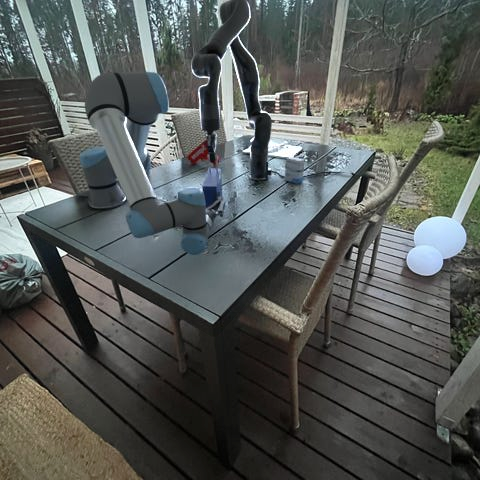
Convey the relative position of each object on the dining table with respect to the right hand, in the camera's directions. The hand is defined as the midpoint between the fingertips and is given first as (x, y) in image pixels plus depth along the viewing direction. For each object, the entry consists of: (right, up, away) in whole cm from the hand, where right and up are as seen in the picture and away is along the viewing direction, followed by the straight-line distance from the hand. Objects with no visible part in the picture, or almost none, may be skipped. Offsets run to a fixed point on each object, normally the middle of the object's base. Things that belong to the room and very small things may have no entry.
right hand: (213, 161), depth 114 cm
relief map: (+35, +30, +80) cm, 92 cm away
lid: (0, -8, 0) cm, 8 cm away
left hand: (0, -15, -2) cm, 15 cm away
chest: (0, -18, +6) cm, 19 cm away
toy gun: (-11, +14, +55) cm, 58 cm away
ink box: (+40, -2, +29) cm, 49 cm away
